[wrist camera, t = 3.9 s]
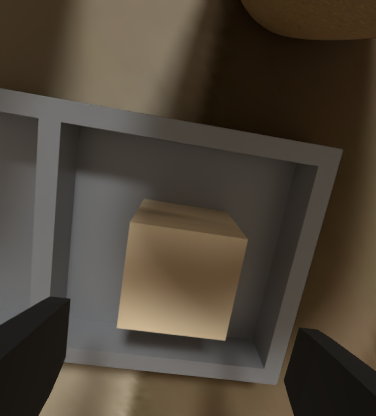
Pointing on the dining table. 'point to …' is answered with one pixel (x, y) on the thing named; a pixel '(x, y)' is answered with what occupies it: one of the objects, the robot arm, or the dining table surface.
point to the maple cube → (181, 270)
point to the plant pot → (316, 18)
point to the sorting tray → (126, 208)
